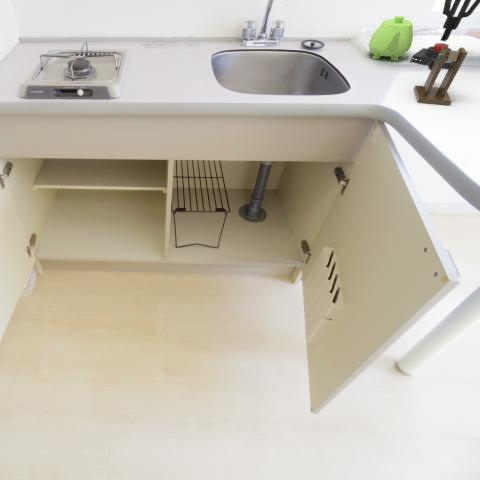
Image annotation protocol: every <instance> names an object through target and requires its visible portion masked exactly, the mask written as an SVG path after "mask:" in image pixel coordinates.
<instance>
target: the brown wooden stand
mask: <svg viewBox="0 0 480 480" xmlns="http://www.w3.org/2000/svg"><path fill="white" fill-rule="evenodd" d="M448 48H449V47H448ZM448 48H447V47H442V49H441V51H440V53H439V55H438V57H437V59H436V62H435V64H434V66H433V68H432V70H430V71H429V74H428V76H427V78H426V81H425V83H424V84H423V85H414V86H413V89H412V90H413V93H414V96H415V98H416V99H415V100H416V102H417V104H418V103H419V104H427V105H428V104H429V105H441V106H451V104H452V103H453V100H452V99H451V97H450V94H449V91H448V90H449V89H450V88H451V87H450V86H451V85H452V83H453V81H454V80H455V77H456V75H457V74H458V72H459V70H460V68H461V66H462V64H463V63H464V60H465V59H466V57H467V55H468V51H467V50H466V48H465V47H459V48H458V50H457V51H460V52H459V55H458V58H457V60H456V61H455V62H453V63H452V64H451V66H450V67H449V69H447V72H446V73H445V75H444V77H443V79H442V81H441V83H440V85H439V86H434V84H435V83H436V80H437V78H438V76H439V74H440V72H441V71H442V69H443V68H442V66H443V64H444V62H445V60H446V58H447V56H448V54H449V50H448Z"/></svg>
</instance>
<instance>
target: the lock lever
mask: <svg viewBox="0 0 480 480" xmlns="http://www.w3.org/2000/svg"><path fill="white" fill-rule="evenodd" d="M459 52H460V51H458V50H452V51H449V54H448V56H447V58H446V60H445V62H444V63H453V62H455V61H456V60H457V58H458V55H459ZM436 59H437V58H434V59H432V60H431V61H430V62H429V64H428V65H427V67H428V70H429V71H431V70H432V68H433V66H434V64H435V62H436Z"/></svg>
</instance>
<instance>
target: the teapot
mask: <svg viewBox="0 0 480 480" xmlns="http://www.w3.org/2000/svg"><path fill="white" fill-rule="evenodd" d="M413 39H414V27H413V22H412V21H410V20H408V19H405V16H403V15H396V16H394V17H393V18H388V19H385V20H383V21H382V23H381V24H380V25H379V26H378V27H377V28H376V30H375V31H374V32H373V34H372V35H371V37H370V39H369V41H368V49H369V52H370V53H371V54H372V57H371V59H374V60H379V59H381V57H389V58H390V60H391V61H395V62H396V61H399V57H402V56H404V55H405V54H407V52H409V50H410V49H411V46H412V43H413ZM397 56H399V57H397Z"/></svg>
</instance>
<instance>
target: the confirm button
mask: <svg viewBox="0 0 480 480" xmlns="http://www.w3.org/2000/svg"><path fill="white" fill-rule="evenodd" d="M433 46H434V48H433V50H435V51H441V49H442V47H447V48H449V46H450V45H449V44H447V43H441V42H436V43H435V44H434V45H433Z"/></svg>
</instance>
